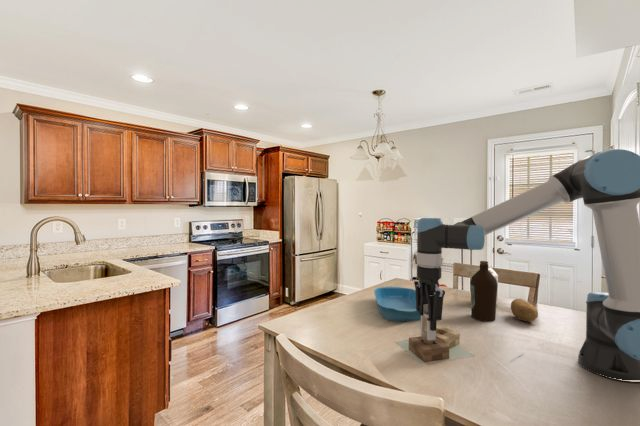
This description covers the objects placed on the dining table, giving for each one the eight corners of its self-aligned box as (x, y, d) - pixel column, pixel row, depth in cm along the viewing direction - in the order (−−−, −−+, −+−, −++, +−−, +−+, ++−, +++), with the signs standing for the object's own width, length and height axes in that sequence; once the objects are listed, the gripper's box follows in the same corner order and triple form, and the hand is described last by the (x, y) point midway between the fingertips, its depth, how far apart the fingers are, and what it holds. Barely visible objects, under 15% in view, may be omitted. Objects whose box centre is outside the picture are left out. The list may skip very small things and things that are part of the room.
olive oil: (495, 315, 141) (496, 260, 140) (498, 323, 131) (499, 264, 130) (469, 312, 145) (470, 258, 144) (470, 320, 135) (470, 262, 135)
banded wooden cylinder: (434, 355, 101) (435, 306, 101) (426, 356, 100) (427, 307, 100) (429, 351, 104) (429, 303, 104) (421, 352, 103) (421, 304, 103)
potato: (518, 325, 130) (518, 306, 129) (505, 313, 143) (505, 296, 143) (544, 327, 128) (545, 307, 127) (529, 315, 141) (529, 297, 141)
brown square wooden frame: (449, 358, 99) (449, 346, 99) (424, 362, 97) (424, 349, 96) (431, 346, 108) (432, 334, 107) (408, 349, 105) (408, 337, 105)
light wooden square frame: (459, 344, 109) (459, 332, 109) (444, 351, 104) (444, 339, 104) (436, 335, 117) (436, 324, 116) (421, 341, 111) (421, 330, 111)
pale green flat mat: (475, 359, 101) (475, 355, 101) (421, 367, 96) (421, 364, 96) (443, 338, 116) (443, 335, 116) (395, 345, 111) (395, 341, 111)
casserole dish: (434, 327, 128) (434, 310, 128) (379, 325, 130) (379, 308, 130) (415, 300, 165) (415, 286, 165) (372, 298, 167) (372, 285, 166)
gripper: (455, 270, 95) (454, 346, 95) (424, 260, 110) (423, 326, 111) (434, 271, 93) (432, 349, 93) (405, 261, 108) (404, 328, 109)
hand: (427, 337), depth 102 cm, fingers closed on banded wooden cylinder, 3 cm apart
